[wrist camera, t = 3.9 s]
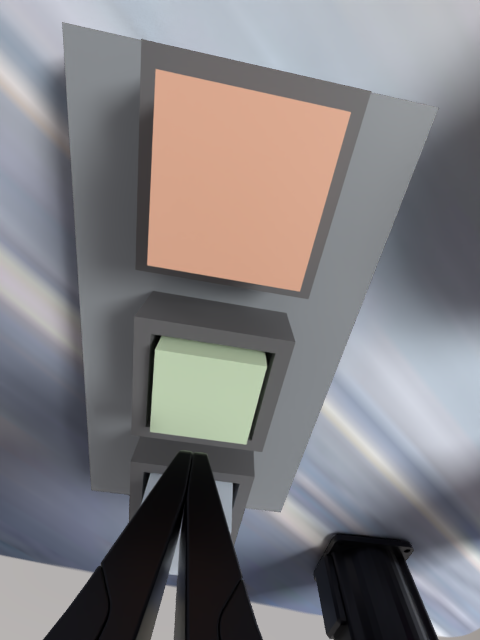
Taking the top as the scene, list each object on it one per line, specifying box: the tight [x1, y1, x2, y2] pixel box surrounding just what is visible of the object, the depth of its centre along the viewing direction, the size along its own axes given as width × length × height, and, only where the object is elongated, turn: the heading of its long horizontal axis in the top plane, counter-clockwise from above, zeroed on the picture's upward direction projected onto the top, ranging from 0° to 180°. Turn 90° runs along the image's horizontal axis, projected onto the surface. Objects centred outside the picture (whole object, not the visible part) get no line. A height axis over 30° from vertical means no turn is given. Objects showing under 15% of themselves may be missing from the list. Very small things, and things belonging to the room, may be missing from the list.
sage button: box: [150, 336, 267, 445], centre depth 13 cm, size 4×4×3 cm
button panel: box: [62, 22, 438, 545], centre depth 14 cm, size 12×22×4 cm, turn 170°
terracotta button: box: [147, 69, 351, 292], centre depth 8 cm, size 4×4×3 cm
